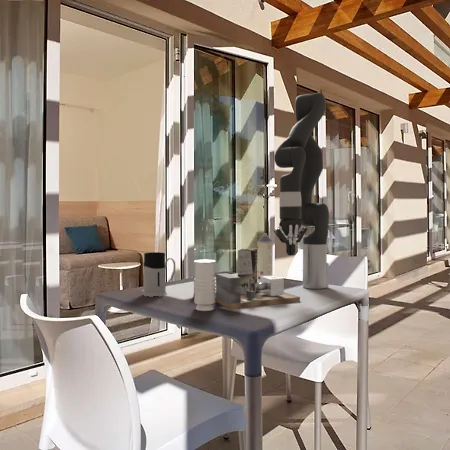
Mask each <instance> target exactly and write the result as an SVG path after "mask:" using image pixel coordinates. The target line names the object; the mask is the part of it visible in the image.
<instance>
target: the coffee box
mask: <svg viewBox="0 0 450 450" xmlns="http://www.w3.org/2000/svg"><path fill="white" fill-rule="evenodd" d="M237 276H238V277H241V295H245V294H246V290H250V279H251V291H254V294H255V293H257V291H258V290H256V289H255V284H256V283H258V278H257V248H241V249H238V250H237Z"/></svg>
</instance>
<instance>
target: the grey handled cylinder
mask: <svg viewBox="0 0 450 450" xmlns="http://www.w3.org/2000/svg"><path fill="white" fill-rule="evenodd" d="M143 260H144V261H143V293H142V296H143V295H144V297H147V296H149V298H150V297H152V298H154V297H153V296H159V297H165V296H167V295H168V293H167V290H166V288H167V287H166V286H167V285H169V284H170V282H171V281H172V280H173V278H174V276H175V274H176V273H175V272H176V261H175V260H174V258H171V257H169V258H166V253H165V252H158V251H157V252H155V251H154V252H144V255H143ZM169 260H171V261H172V263H173V271H172V275H171V276H170V279H169V280H168V281H167V280H166V274H167V273H166V269H167V267H168V266H167V265H168V261H169ZM166 281H167V282H166ZM164 295H165V296H164Z"/></svg>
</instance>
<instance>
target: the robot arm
mask: <svg viewBox="0 0 450 450" xmlns="http://www.w3.org/2000/svg"><path fill="white" fill-rule="evenodd" d="M326 109H327V103H326V98H325V95H324V94H323V93H321V92H314V93H306V94H300V95H298V96H296V98H295V102H294V110H295V111H294V112H295V120H296V123H295V125H293V126H292V127H291V129H290V132H289V134H288V136H287V138H286V139H285V140H284V141H283V142H282V143H280V145H279V146H278V147H277V149H276V150H275V154H274V155H273V156H274V163H275V165H276V166H277V167H278V168H280V169H285V168H292V170H291V172H289V173H287V174H283V175H281V176H280V179H279V203H278V205H279V221H280V222H279V223H278V227H276V228H274V229H273V233H274V234H275V235H276V236H277V238H278V239H279V241H280V242H281V243H283V244H284V245H285V249H286V254H287V256H295V253H296V244H298V243H300V242H301V241H302V288H306V289H311V290H312V289H313V290H315V289H316V290H318V289H319V290H320V289H326V288H329V280H330V279H329V274H330V273H329V272H330V271H329V270H330V269H329V262H328V261H327V259H328V258H327V256H328V255H327V254H328V253H327V250H328V249H327V246H328V245H327V243H328V242H327V241H328V236H329V225H330V222H329V220H330V211H329V207H328V205H327V204H325V203H323V202H313V203H312V197H313V191H314V188H315V185H316V184H317V182H318V180H319V179H320V177H321V174H322V172H323V166H324V165H323V163H324V162H323V151H322V149H321V147H320V146H319V144H318V143H317V141H316V140H315V138H314V136H313V135H312V132H313V131H314V129H315V128H316V127H317V125H318V124H319V122H320V121H321V120H322V118H323V116H324V114H325V113H326ZM308 227H314V230H313V232H311V233H309V234H307V235H306V233H307V232H308Z"/></svg>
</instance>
